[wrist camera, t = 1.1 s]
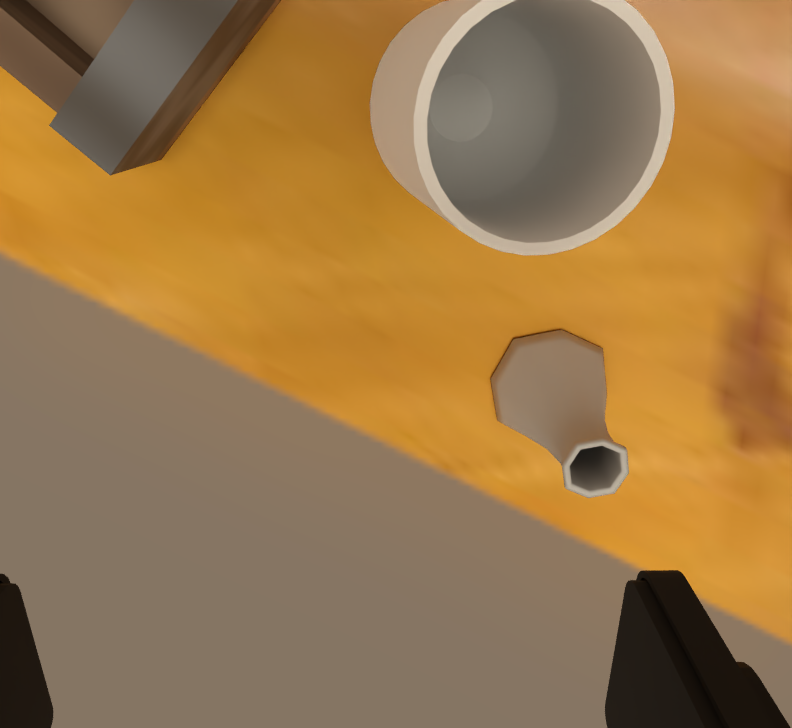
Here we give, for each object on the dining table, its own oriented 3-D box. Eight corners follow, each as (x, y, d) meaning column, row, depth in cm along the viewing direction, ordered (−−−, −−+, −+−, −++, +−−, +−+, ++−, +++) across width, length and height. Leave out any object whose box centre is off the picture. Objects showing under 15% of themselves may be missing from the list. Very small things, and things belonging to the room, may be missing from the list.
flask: (480, 429, 41) (507, 526, 32) (500, 321, 39) (536, 393, 30) (591, 440, 42) (650, 539, 33) (619, 334, 39) (692, 409, 30)
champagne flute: (394, 13, 32) (416, -154, 10) (522, 53, 33) (800, -23, 11) (360, 151, 35) (321, 256, 13) (481, 185, 36) (640, 340, 14)
